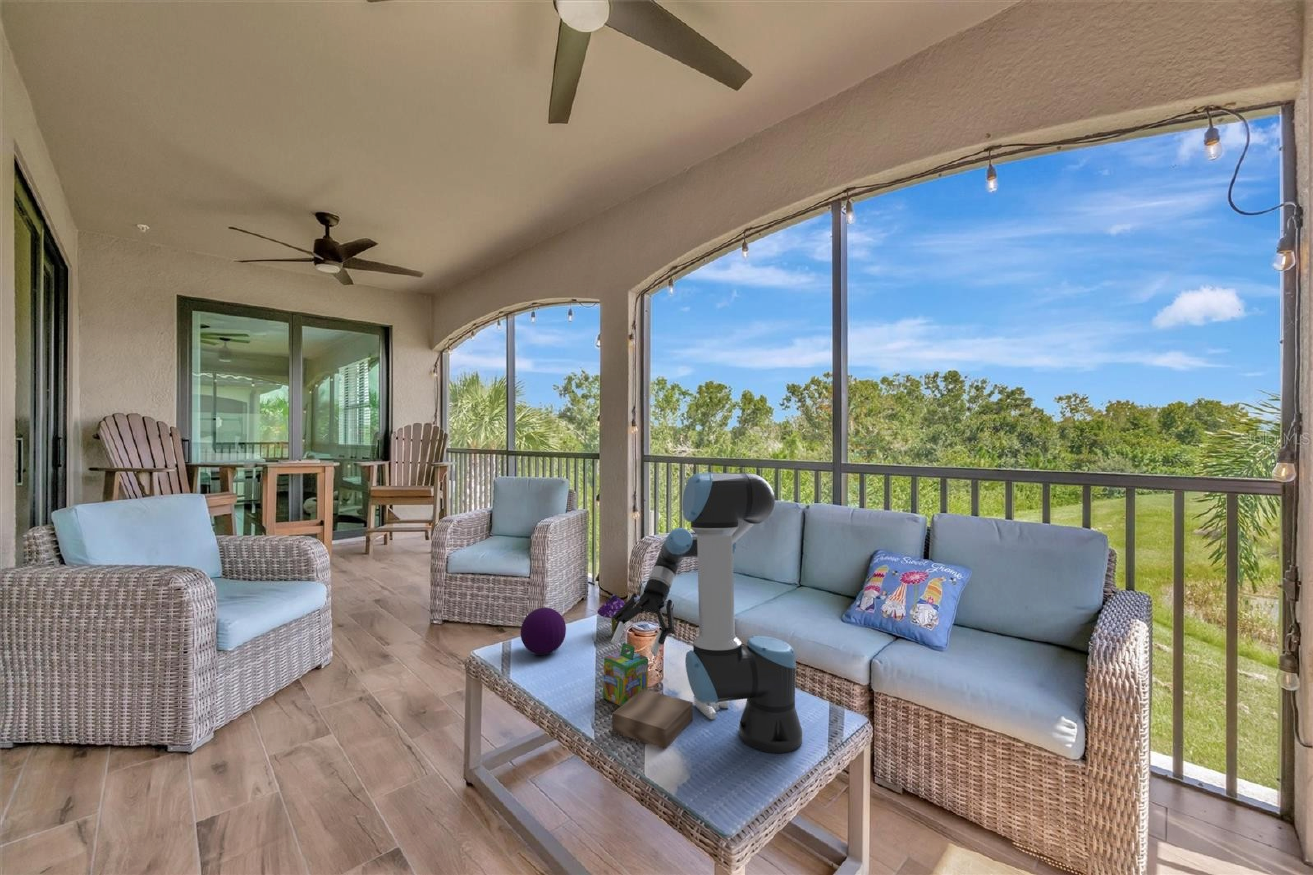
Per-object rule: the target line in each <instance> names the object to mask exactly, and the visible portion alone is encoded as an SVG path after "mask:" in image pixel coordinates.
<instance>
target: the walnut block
mask: <svg viewBox="0 0 1313 875" xmlns="http://www.w3.org/2000/svg"><path fill="white" fill-rule="evenodd" d="M693 706H694V701H693V702H692V701H690V700H689V701H688V700H685V699H683V698H682V699H681V698H678V697H675V696H671V695H667V694H664V693H660V692H656V691H652V690H650V689H647V690H646V689H642V690H640V691H639V692H638V693H637V694H635V695H634V696H633V697H632V698H631V699H629V700H628V701H627V702H626V703H624V704H623V705H622V706H621V707H620V706H619V707H618V708H617V709H616V710H614V711H613V712H612V713H611V714H612V718H611V720H612V721H611V725H612V726H611V732H612V733H615V734H618V735H621V736H623V737H627V738H630V739H633V740H635V741H636V740H637V741H639V742H643V743H646V744H647V745H648V744H649V745H652V746H654V747H657V748H659V749H660V748H661V749H664V750H666V749H667V748H668V747H669V746H670V745H671V744H672V743H673V742H674V741H675V740H676V738H678V736H679V735H680V734H681V733H682V732H683V731H684V730H685V729H686V727H687V726H688V725H689V724H691V722H693V718H694V717H693V716H694V715H693V712H694V709H693Z"/></svg>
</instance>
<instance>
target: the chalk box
mask: <svg viewBox="0 0 1313 875" xmlns="http://www.w3.org/2000/svg"><path fill="white" fill-rule="evenodd" d="M635 649H636V647H635V646H634V645H631V644H630V643H629V644H628V643H625V642H623V643H622V647H621V651H618V652H616V653H612V654H610V655H608V656H605V657H604V658H603V684H602V686H603V687H602V689H603V690H602V691H603V692H602V698H603V699H605V700H606V701H609V702H611V703H613V704H615V705H617V706H619V707H621V706H622V705H623V704H624V703H626V702H627V701H628V700H629V699H631V698H632V697H633V696H634V695H635V694H637V693H638V692H639V691H640V690H642V689H646V690H648V683H649V682H648V680H649V678H648V677H649V670H648V669H649V658H648V657H647V656H645V655H643V654H640V653H638V652H636V651H635Z"/></svg>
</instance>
